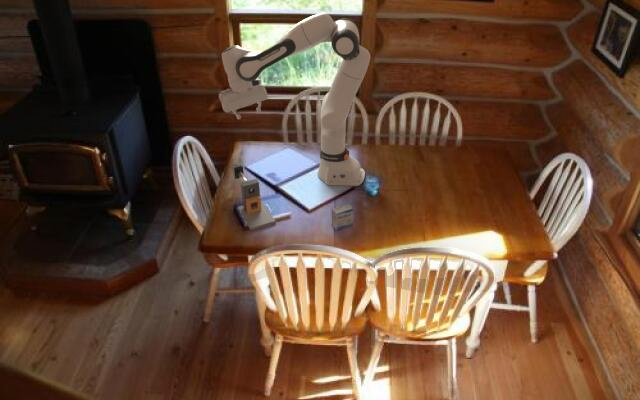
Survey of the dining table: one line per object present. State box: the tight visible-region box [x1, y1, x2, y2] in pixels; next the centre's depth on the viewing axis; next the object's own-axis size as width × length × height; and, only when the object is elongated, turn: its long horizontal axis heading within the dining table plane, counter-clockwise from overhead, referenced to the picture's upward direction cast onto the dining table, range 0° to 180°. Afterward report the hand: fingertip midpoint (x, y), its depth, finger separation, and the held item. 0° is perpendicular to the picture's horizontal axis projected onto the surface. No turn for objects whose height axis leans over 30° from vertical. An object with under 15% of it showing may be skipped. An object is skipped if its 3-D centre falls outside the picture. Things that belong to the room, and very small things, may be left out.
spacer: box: [245, 195, 262, 214], centre depth 221 cm, size 2×6×6 cm, turn 117°
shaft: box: [231, 161, 251, 190], centre depth 225 cm, size 16×4×6 cm, turn 26°
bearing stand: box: [237, 178, 277, 232], centre depth 217 cm, size 16×11×14 cm
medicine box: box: [330, 203, 354, 231], centre depth 215 cm, size 8×4×9 cm, turn 117°
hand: (249, 115), depth 229 cm, fingers open, 8 cm apart
